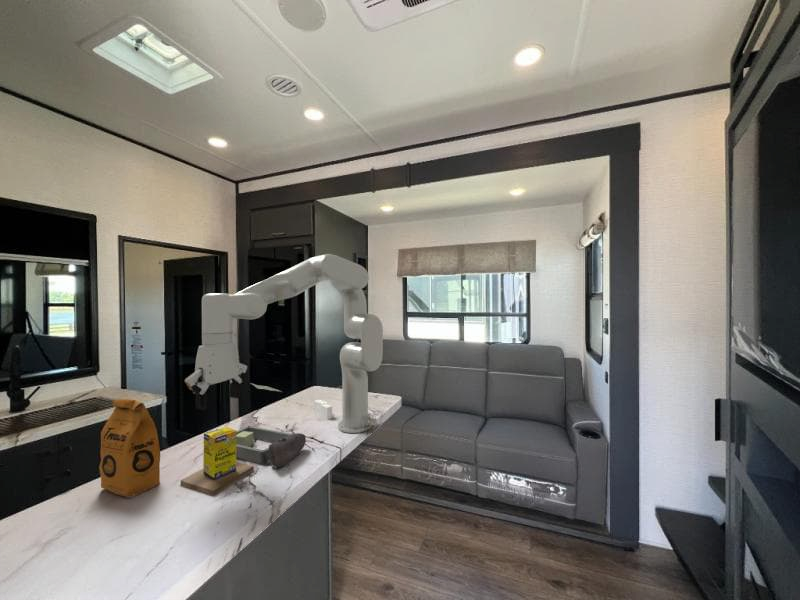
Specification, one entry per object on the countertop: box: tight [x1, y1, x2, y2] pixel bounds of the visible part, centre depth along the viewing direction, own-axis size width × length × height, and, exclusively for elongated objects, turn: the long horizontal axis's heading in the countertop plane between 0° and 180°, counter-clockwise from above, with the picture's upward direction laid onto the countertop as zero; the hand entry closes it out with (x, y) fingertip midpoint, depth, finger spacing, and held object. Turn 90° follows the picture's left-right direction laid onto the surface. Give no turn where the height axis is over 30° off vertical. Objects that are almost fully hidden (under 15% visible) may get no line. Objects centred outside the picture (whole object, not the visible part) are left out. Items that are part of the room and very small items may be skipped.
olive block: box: [236, 431, 254, 447], centre depth 101 cm, size 4×4×4 cm
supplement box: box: [202, 425, 237, 480], centre depth 83 cm, size 6×6×11 cm
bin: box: [236, 425, 294, 465], centre depth 99 cm, size 20×13×4 cm, turn 68°
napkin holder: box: [313, 399, 333, 420], centre depth 128 cm, size 15×11×6 cm
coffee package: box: [98, 397, 161, 499], centre depth 79 cm, size 10×12×22 cm
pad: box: [180, 461, 255, 497], centre depth 83 cm, size 12×12×1 cm
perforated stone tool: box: [268, 433, 307, 469], centre depth 92 cm, size 15×5×7 cm, turn 157°
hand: (219, 403), depth 83 cm, fingers open, 9 cm apart
